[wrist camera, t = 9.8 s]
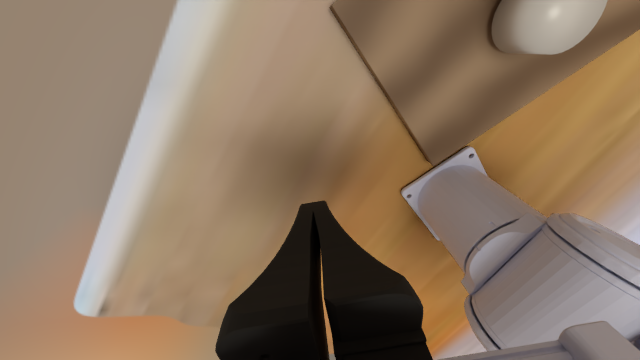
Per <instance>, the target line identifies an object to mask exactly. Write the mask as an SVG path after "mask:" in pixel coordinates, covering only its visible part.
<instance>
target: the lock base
mask: <svg viewBox="0 0 640 360" xmlns="http://www.w3.org/2000/svg"><path fill="white" fill-rule="evenodd" d="M501 1H502V0H337V1H336V2H335V3H333V4H332V6H331V7H330V9H331V11H332V12H333V14H334V15H335V17H336V18H337V20H338V22H339V23H340V25H341V26H342V28H343V29H344V31H345V33H346V34H347V36H348V37H349V39H350V40H351V42H352V43H353V45H354V47H355V48H356V50H357V51H358V53H359V54H360V56H361V58H362V59H363V61H364V62H365V64H366V65H367V67H368V68H369V70H370V72H371V73H372V75H373V76H374V78H375V79H376V81H377V83H378V84H379V86H380V87H381V89H382V90H383V92H384V93H385V95H386V97H387V98H388V100H389V101H390V103H391V104H392V106H393V108H394V109H395V111H396V112H397V114H398V115H399V117H400V118H401V120H402V122H403V123H404V125H405V126H406V128H407V129H408V131H409V133H410V134H411V136H412V137H413V139H414V140H415V142H416V143H417V145H418V147H419V148H420V150H421V151H422V153H423V154H424V156H425V158H426V159H427V161H428V162H429V163H431V164H432V165H433V166H435V165H436V164H438V163H439V162H441V161H442V160H444V159H445V158H447V157H448V156H450V155H451V154H453V153H454V152H456V151H457V150H459V149H460V148H462V147H463V146H465V145H466V144H468V143H469V142H471V141H472V140H474V139H475V138H477V137H478V136H480V135H481V134H483V133H484V132H486V131H487V130H489V129H490V128H492V127H493V126H495V125H496V124H498V123H499V122H501V121H502V120H504V119H505V118H507V117H508V116H510V115H511V114H513V113H515V112H516V111H518V110H519V109H521V108H522V107H524V106H525V105H527V104H528V103H530V102H531V101H533V100H534V99H536V98H537V97H539V96H540V95H542V94H543V93H545V92H546V91H548V90H549V89H551V88H552V87H554V86H555V85H557V84H558V83H560V82H561V81H563V80H564V79H566V78H567V77H569V76H570V75H572V74H573V73H575V72H576V71H578V70H579V69H581V68H582V67H584V66H585V65H587V64H588V63H590V62H591V61H593V60H594V59H596V58H597V57H599V56H600V55H602V54H603V53H605V52H606V51H608V50H609V49H611V48H612V47H614V46H615V45H617V44H618V43H620V42H621V41H623V40H624V39H626V38H627V37H629V36H630V35H632V34H633V33H635V32H636V31H638V30H639V29H640V0H607V4H606V6H605V9H604V11H603V13H602V15H601V17H600V19H599V20H598V22H597V23H596V25H595V26H594V28H593V29H592V30H591V31H590V32H589V34H588V35H587V36H586V37H585V38H584V39H583V40H581V41H580V42H579V43H578V44H576V45H575V46H574V47H572V48H570V49H568V50H566V51H564V52H562V53H558V54H552V55H547V54H519V53H505V52H503V51H501V50H499V49H498V48H497V47H496V45H495V44H494V42H493V39H492V22H493V18H494V15H495V12H496V10H497V7H498V6H499V4H500V2H501Z"/></svg>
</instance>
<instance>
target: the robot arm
mask: <svg viewBox="0 0 640 360" xmlns="http://www.w3.org/2000/svg"><path fill="white" fill-rule="evenodd" d="M470 154H471V156H469V155H470ZM401 194H402V196H403V197H404V198H405V200H406V201H407V202H408V203H409V205H410V206H411V207H412V209H413V210H414V211H415V212H416V214H417V215H418V216H419V218H420V219H421V220H422V221H423V223H424V224H425V225H426V227H427V228H428V229H429V230H430V232H431V233H432V234H433V236H434V237H435V238H436V239H437V240H439V241H440V240H441V241H442V243H443V244H444V246H445V247H446V248H447V250H448V251H449V252H450V254H451V255H452V257H453V258H454V259H455V261H456V262H457V263H458V265H459V266H460V267H461V269H462V270H463V272H464V273H465V276H464V278H463V279H462V280H461V283H462V284H463V286H464V287H465V289H466V290H467V291H468V293H469V294H470V295H468V296H467V297H466V299H465V302H464V308H465V313H466V316H467V319H468V321H469V323H470V326H471V328H472V330H473V332H474V333H475V335H476V337H477V338H478V340H479V341H480V342H481V344H482V345H483V346H484V348H485V349H486V350H487V351H488V352H482V353H475V354H469V355H463V356H457V357H451V358H445V359H439V360H640V245H638V244H636V243H635V242H633V241H631V240H629V239H627V238H625V237H624V236H622V235H620V234H618V233H616V232H614V231H612V230H610V229H608V228H606V227H604V226H602V225H600V224H598V223H596V222H594V221H591V220H589V219H587V218H584V217H582V216H579V215H577V214H573V213H564V214H559V213H553V214H551V216H550V217H549V218H547V217H545V216H544V215H543V214H541V213H540V212H538V211H537V210H535V209H534V208H532V207H531V206H530V205H528V204H527V203H525V202H524V201H522V200H521V199H519V198H518V197H517V196H515V195H514V194H512V193H511V192H509V191H508V190H506V189H505V188H503V187H502V186H501V185H499V184H498V183H496V182H495V181H493V180H492V179H490V178H489V177H488V176H487V174H486V172H485V170H484V168H483V166H482V164H481V162H480V160H479V158H478V156H477V154H476V152H475V150H474V148H472V147H470V146H467V147H465V148H464V149H462V150H461V151H459V152H458V153H456V154H455V155H453V156H452V157H450V158H449V159H447V160H446V161H444V162H443V163H441V164H440V165H438V166H437V167H435V168H434V169H432V170H431V171H429V172H428V173H426V174H425V175H423V176H422V177H420V178H419V179H417V180H416V181H414V182H413V183H411V184H410V185H408V186H407V187H405V188H403V189H402V191H401ZM409 194H410V195H409ZM407 195H409V196H407ZM321 257H322V270H323V288H324V300H325V305H326V310H327V314H328V319H329V323H330V328H331V332H332V338H333V347H334V355H335V357H336V360H433V359H432V356H431V354H430V352H429V349H428V347H427V345H426V337H425V335H424V332H423V330H422V328H421V327H422V319H423V306H422V304H421V301H420V299H419V297H418V296H417V294H416V293H415V291H414V289H413V288H412V286H411V285H410V284H409V282H408V281H407V280H406V278H405V277H404V276H402V275H400V274H399V273H397V272H395V271H393V270H392V269H390V268H388V267H387V266H385V265H384V264H382V263H381V262H379V261H378V260H376V259H375V258H374V257H373V256H371V255H370V254H369V253H367V252H366V251H365V250H364V249H362V248H361V247H360V246H359V245H358V244H357V243H356V242H355V241H354V240H353V239H352V238H351V237H350V236H349V235H348V234H347V233H346V232H345V231H344V229H343V228H342V227H341V226H340V225H339V223H338V222H337V220H336V219H335V218H334V216H333V215H332V213H331V211H330V210H329V208H328V206H327V203H326V202H325V201H318V202H312V203H306V204H301V206H300V208H299V211H298V214H297V217H296V219H295V222H294V224H293V226H292V228H291V230H290V232H289V234H288V236H287V238H286V240H285V242H284V243H283V245H282V247H281V248H280V250H279V251H278V253H277V254H276V256H275V257H274V259H273V260H272V261H271V263H270V264H269V265H268V266H267V268H266V269H265V270H264V271H263V273H262V274H261V275H260V276H259V277H258V278H257V279H256V280H255V281H254V282H253V283H252V285H251V286H250V287H249V288H248V289H247V290H245V291H244V292H243V293H242V294H241V295H240V296H239V297H238V298H237V299H235V300H234V301H233V302H232V303H231V304H230V305H229V306H228V309H227V312H226V314H225V316H224V319H223V322H222V325H221V328H220V332H219V336H218V339H217V343H216V350H215V351H216V353H217V356H218V357H219V359H220V360H329V352H328V344H327V336H326V327H325V319H324V310H323V301H322V291H321Z"/></svg>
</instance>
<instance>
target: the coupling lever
mask: <svg viewBox="0 0 640 360" xmlns="http://www.w3.org/2000/svg"><path fill="white" fill-rule="evenodd" d="M606 4H607V0H502V1H501V2H500V4H499V6H498V7H497V10H496V12H495V15H494V18H493V22H492V39H493V42H494V44H495V45H496V47H497V48H498V49H499V50H501V51H503V52H505V53H519V54H547V55H552V54H558V53H562V52H564V51H566V50H568V49H570V48H572V47H574V46H575V45H576V44H578V43H579V42H580V41H581V40H583V39H584V38H585V37H586V36H587V35H588V34H589V32H590V31H591V30H592V29H593V28H594V26H595V25H596V23H597V22H598V20H599V19H600V17H601V15H602V13H603V11H604V9H605V6H606Z"/></svg>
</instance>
